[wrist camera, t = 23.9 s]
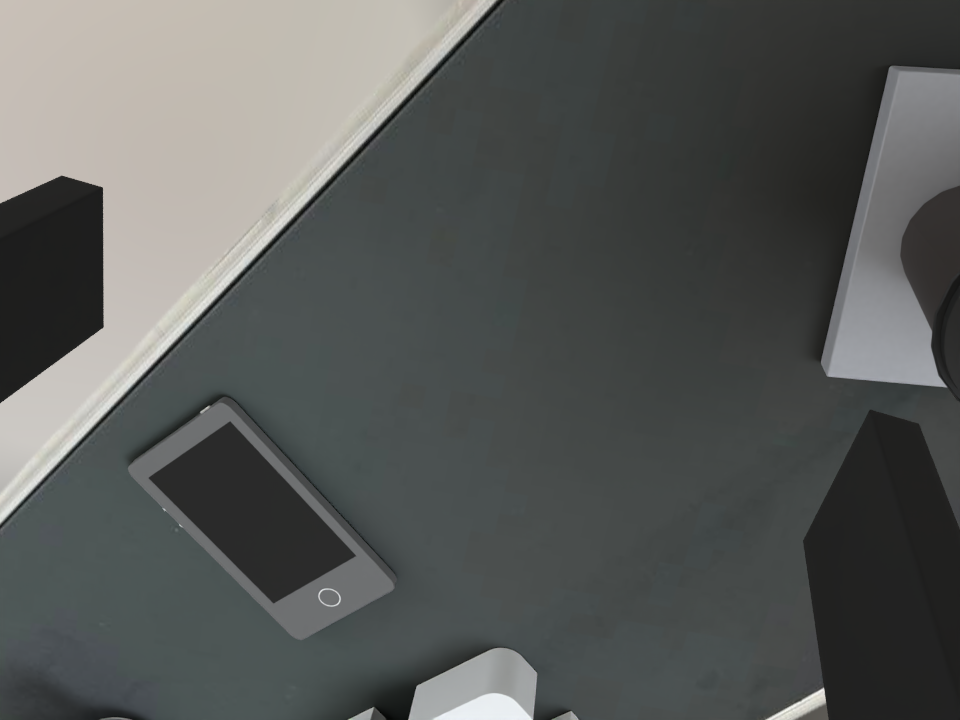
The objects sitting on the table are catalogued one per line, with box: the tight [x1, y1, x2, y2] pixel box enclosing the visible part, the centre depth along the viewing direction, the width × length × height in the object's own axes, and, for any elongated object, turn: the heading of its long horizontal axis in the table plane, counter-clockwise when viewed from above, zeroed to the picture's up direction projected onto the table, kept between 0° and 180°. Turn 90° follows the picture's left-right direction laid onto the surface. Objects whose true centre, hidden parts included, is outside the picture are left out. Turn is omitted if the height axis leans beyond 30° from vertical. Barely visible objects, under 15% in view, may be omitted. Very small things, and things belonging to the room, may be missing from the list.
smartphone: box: [128, 397, 397, 640], centre depth 52 cm, size 15×8×1 cm, turn 37°
